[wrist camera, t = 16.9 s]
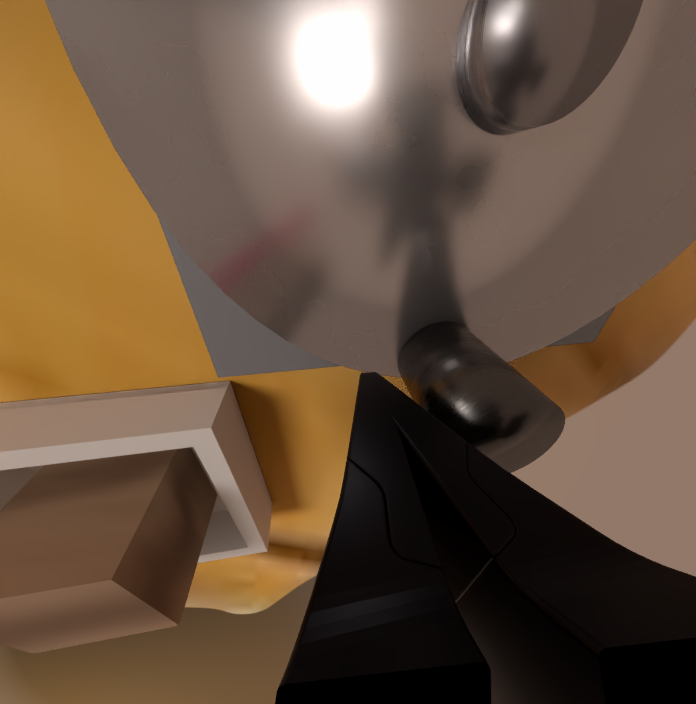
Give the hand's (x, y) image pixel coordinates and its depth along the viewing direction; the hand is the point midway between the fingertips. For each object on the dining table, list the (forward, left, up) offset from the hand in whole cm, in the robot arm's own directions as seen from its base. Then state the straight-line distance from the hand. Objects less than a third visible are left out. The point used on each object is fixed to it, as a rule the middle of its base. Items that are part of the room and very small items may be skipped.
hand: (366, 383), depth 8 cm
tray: (+9, -12, -5) cm, 16 cm away
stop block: (+9, -12, -4) cm, 15 cm away
